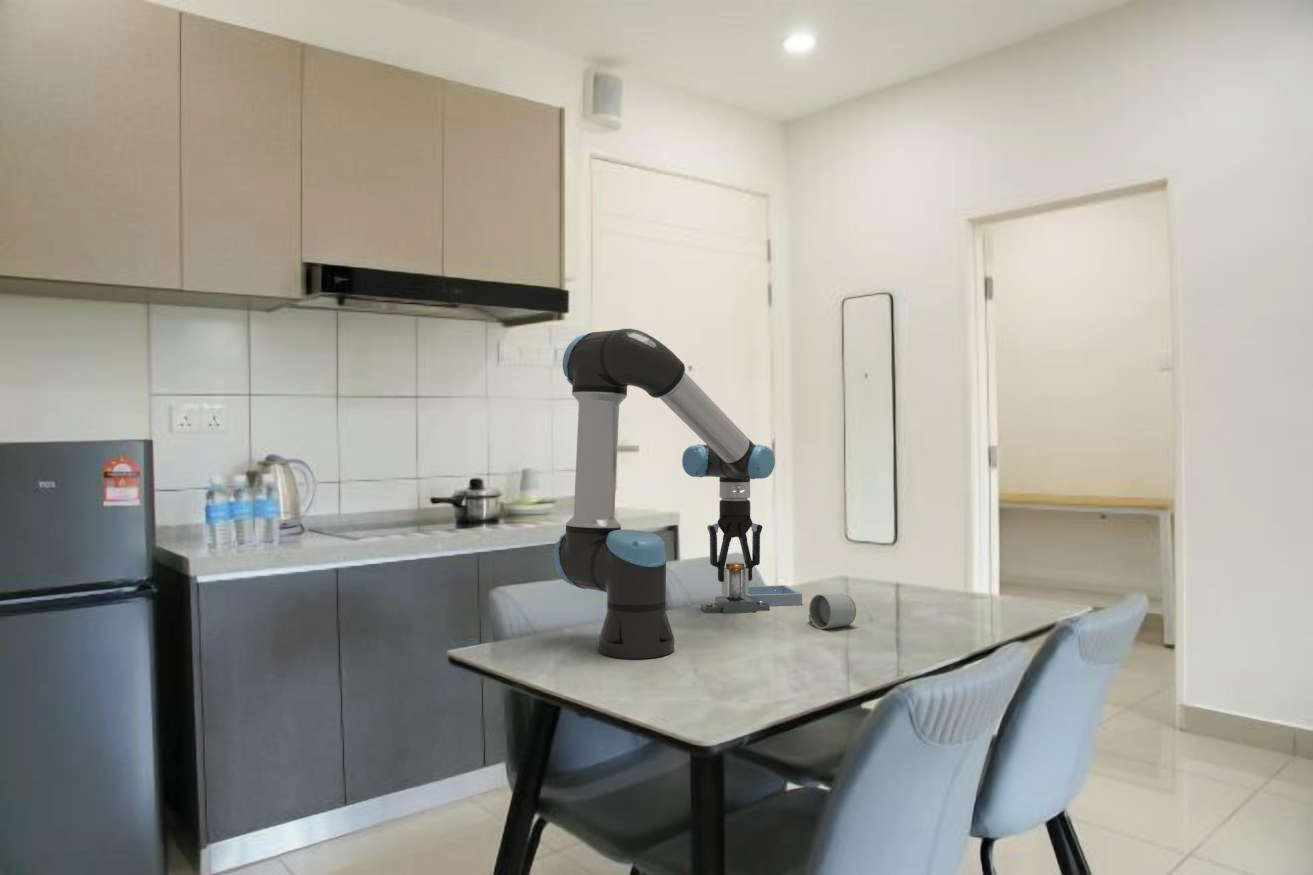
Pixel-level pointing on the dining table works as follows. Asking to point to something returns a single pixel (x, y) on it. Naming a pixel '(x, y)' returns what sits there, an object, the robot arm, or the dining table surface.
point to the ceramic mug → (831, 610)
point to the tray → (774, 595)
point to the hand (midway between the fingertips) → (735, 594)
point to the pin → (734, 580)
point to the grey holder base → (734, 605)
